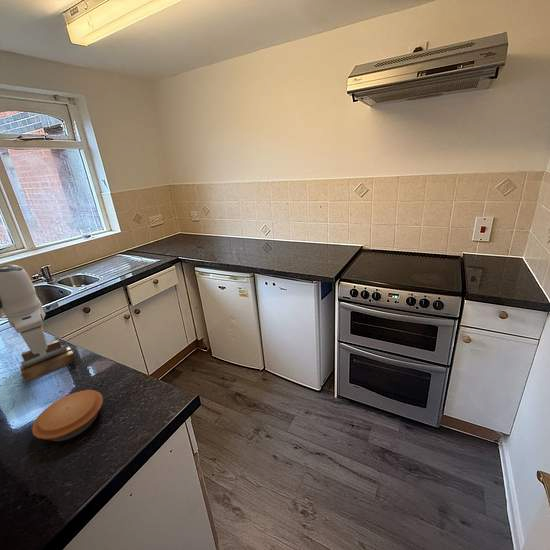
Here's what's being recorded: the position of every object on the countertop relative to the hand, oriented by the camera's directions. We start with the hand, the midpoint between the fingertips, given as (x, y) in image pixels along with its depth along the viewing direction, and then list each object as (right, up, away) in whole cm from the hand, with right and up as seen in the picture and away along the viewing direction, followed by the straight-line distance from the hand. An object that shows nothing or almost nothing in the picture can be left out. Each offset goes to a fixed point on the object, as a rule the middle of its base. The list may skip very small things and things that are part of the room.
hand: (43, 352), depth 97 cm
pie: (+23, -13, -20) cm, 33 cm away
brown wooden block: (+1, -5, +2) cm, 5 cm away
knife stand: (+1, -7, +3) cm, 7 cm away
